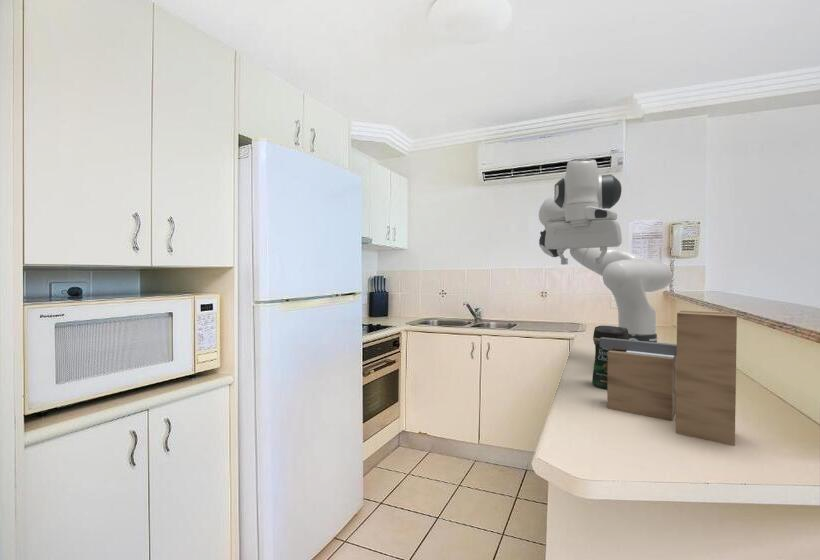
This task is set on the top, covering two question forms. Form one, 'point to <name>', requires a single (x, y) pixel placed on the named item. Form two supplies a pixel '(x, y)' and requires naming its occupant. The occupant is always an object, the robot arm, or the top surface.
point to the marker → (638, 346)
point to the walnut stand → (683, 378)
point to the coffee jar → (605, 352)
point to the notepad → (650, 354)
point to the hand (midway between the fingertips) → (581, 264)
